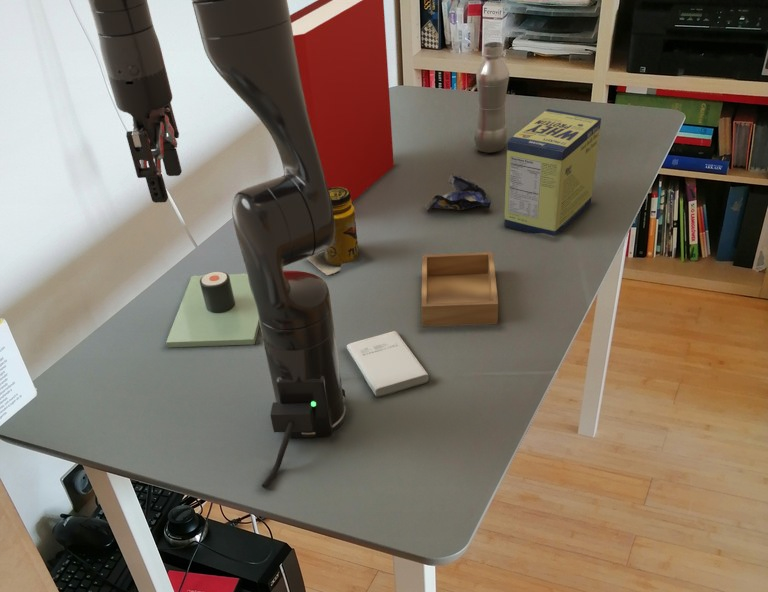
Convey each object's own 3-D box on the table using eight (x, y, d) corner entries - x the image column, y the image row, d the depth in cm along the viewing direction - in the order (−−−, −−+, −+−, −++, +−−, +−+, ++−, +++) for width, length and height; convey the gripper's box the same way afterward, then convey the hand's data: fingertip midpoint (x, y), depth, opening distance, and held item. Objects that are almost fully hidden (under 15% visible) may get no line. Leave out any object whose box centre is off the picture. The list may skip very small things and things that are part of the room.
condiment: (368, 260, 143) (362, 193, 135) (327, 276, 140) (318, 209, 132) (346, 244, 148) (339, 179, 139) (306, 260, 145) (296, 194, 136)
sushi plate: (254, 344, 128) (253, 339, 127) (167, 347, 129) (165, 342, 128) (272, 277, 141) (271, 272, 141) (193, 280, 142) (191, 275, 142)
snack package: (436, 191, 160) (418, 217, 152) (441, 158, 155) (423, 183, 148) (495, 206, 158) (480, 233, 151) (501, 174, 154) (487, 200, 146)
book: (360, 160, 172) (344, -15, 149) (393, 166, 169) (382, -12, 146) (289, 218, 156) (258, 32, 133) (324, 225, 153) (299, 36, 130)
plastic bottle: (468, 148, 173) (469, 44, 158) (496, 141, 174) (499, 37, 160) (484, 159, 168) (486, 53, 154) (512, 151, 170) (517, 45, 156)
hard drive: (375, 398, 116) (347, 352, 124) (428, 382, 118) (397, 338, 126) (375, 389, 115) (346, 343, 123) (428, 373, 117) (396, 329, 125)
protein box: (592, 203, 152) (602, 116, 141) (555, 240, 143) (563, 151, 132) (541, 192, 156) (547, 107, 145) (502, 227, 148) (505, 140, 137)
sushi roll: (232, 312, 133) (226, 285, 129) (203, 313, 133) (196, 286, 129) (237, 296, 136) (231, 269, 132) (209, 298, 136) (202, 270, 133)
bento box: (497, 327, 126) (498, 303, 123) (422, 330, 127) (421, 306, 124) (492, 275, 137) (492, 251, 134) (423, 278, 138) (422, 254, 135)
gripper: (122, 50, 112) (154, 168, 123) (91, 87, 102) (129, 211, 114) (175, 47, 111) (203, 165, 123) (149, 84, 101) (182, 209, 113)
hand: (167, 187), depth 118 cm, fingers open, 8 cm apart
